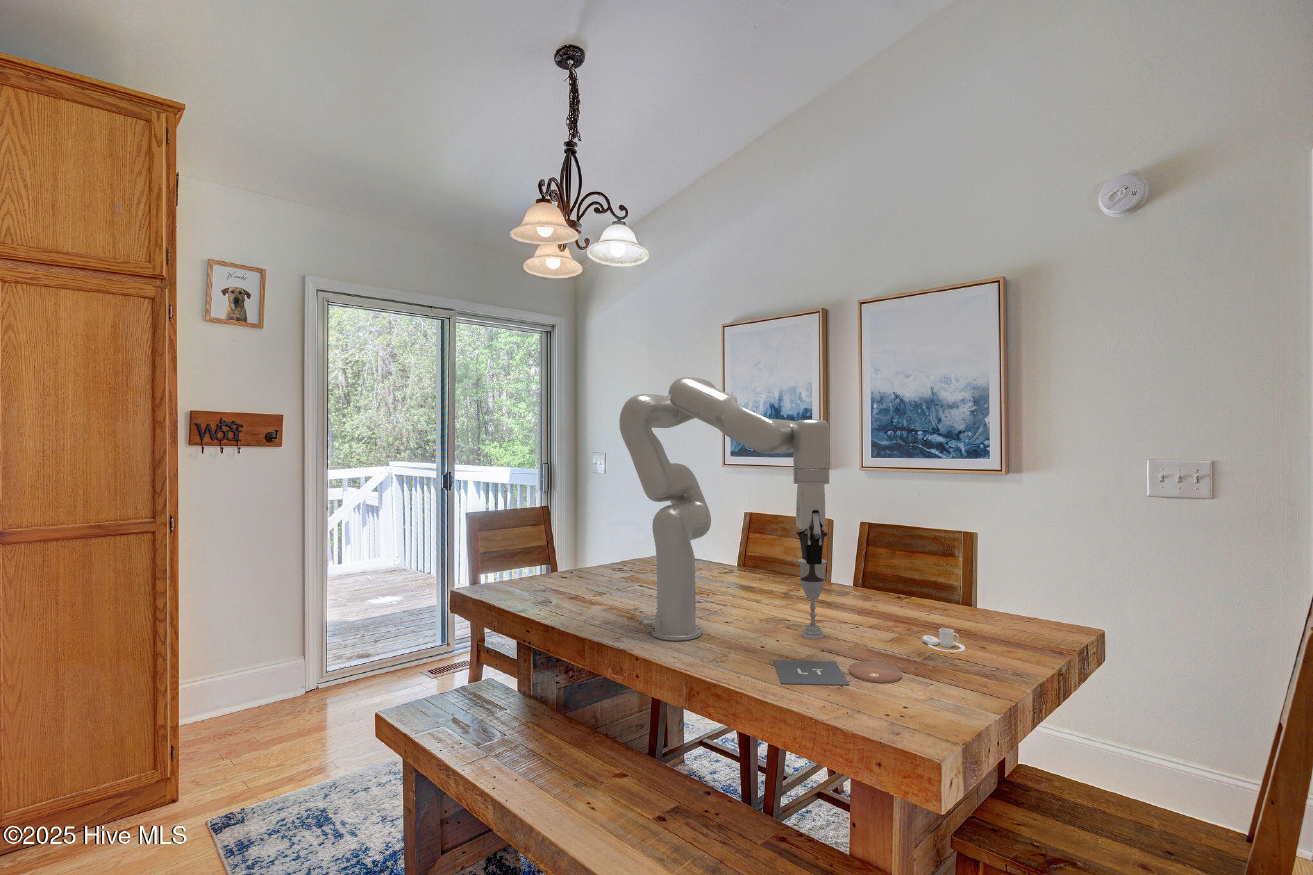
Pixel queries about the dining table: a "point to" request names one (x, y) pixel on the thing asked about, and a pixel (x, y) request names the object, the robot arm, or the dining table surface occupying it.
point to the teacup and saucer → (943, 640)
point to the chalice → (812, 596)
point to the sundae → (803, 541)
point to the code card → (809, 672)
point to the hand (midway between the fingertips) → (811, 560)
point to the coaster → (875, 672)
